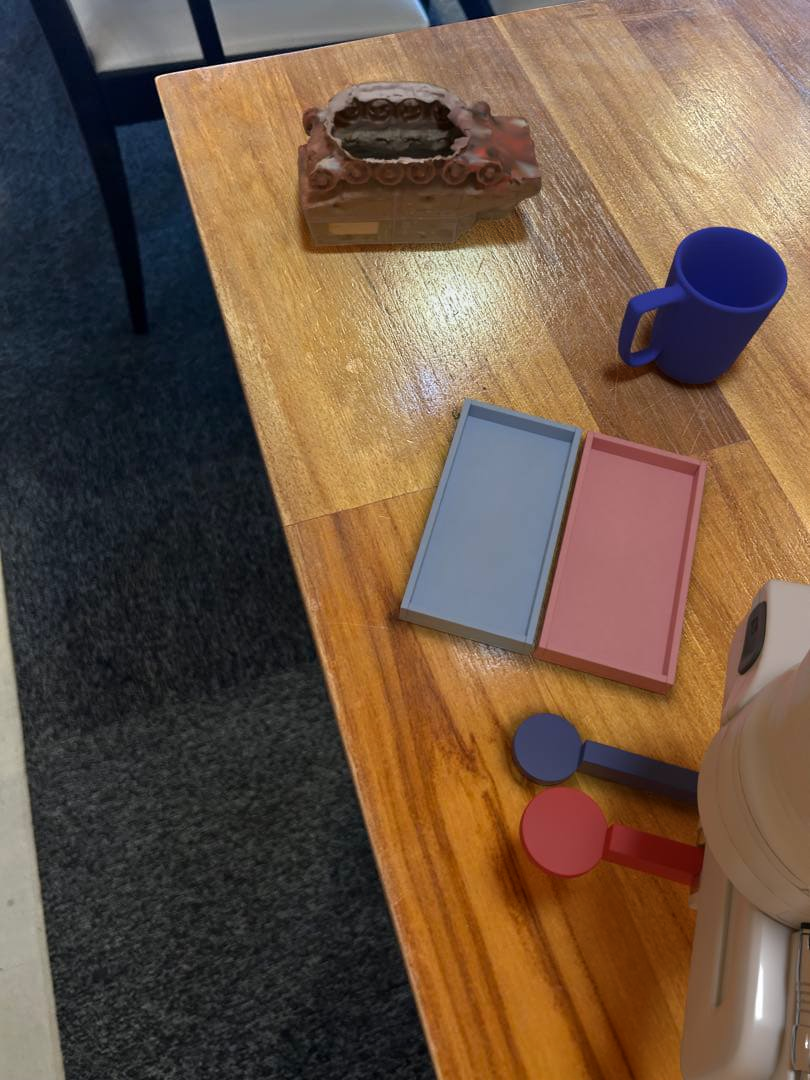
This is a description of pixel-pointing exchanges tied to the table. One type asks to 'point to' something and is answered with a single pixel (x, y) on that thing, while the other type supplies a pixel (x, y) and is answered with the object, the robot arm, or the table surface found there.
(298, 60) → the table surface
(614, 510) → the pink tray
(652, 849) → the red spoon
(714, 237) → the mug
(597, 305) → the table surface
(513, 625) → the blue tray
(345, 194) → the decorative box
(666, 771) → the blue spoon
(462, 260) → the table surface
